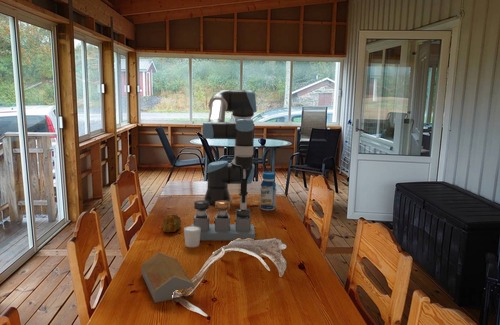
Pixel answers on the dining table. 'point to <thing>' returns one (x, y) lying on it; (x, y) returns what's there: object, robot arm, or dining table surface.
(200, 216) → the knob
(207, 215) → the mount
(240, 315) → the dining table surface
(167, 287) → the house model
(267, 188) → the beverage bottle
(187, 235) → the white candle
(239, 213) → the knob
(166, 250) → the dining table surface
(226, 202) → the knob mid
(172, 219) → the rock
